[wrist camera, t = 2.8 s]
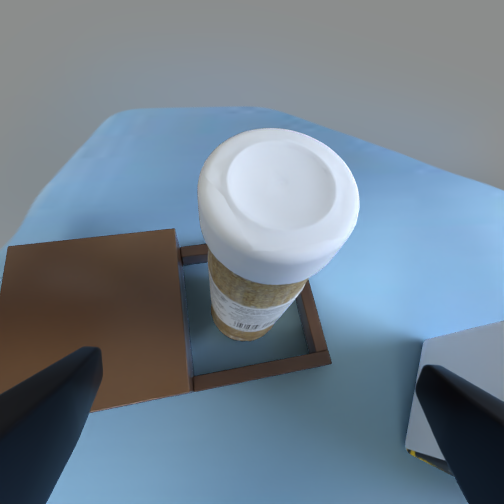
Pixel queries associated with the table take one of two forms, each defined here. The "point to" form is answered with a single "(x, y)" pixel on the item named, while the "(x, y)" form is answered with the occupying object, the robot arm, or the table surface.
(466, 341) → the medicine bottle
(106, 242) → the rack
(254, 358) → the table surface
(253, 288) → the sprinkles bottle
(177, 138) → the table surface
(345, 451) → the table surface
